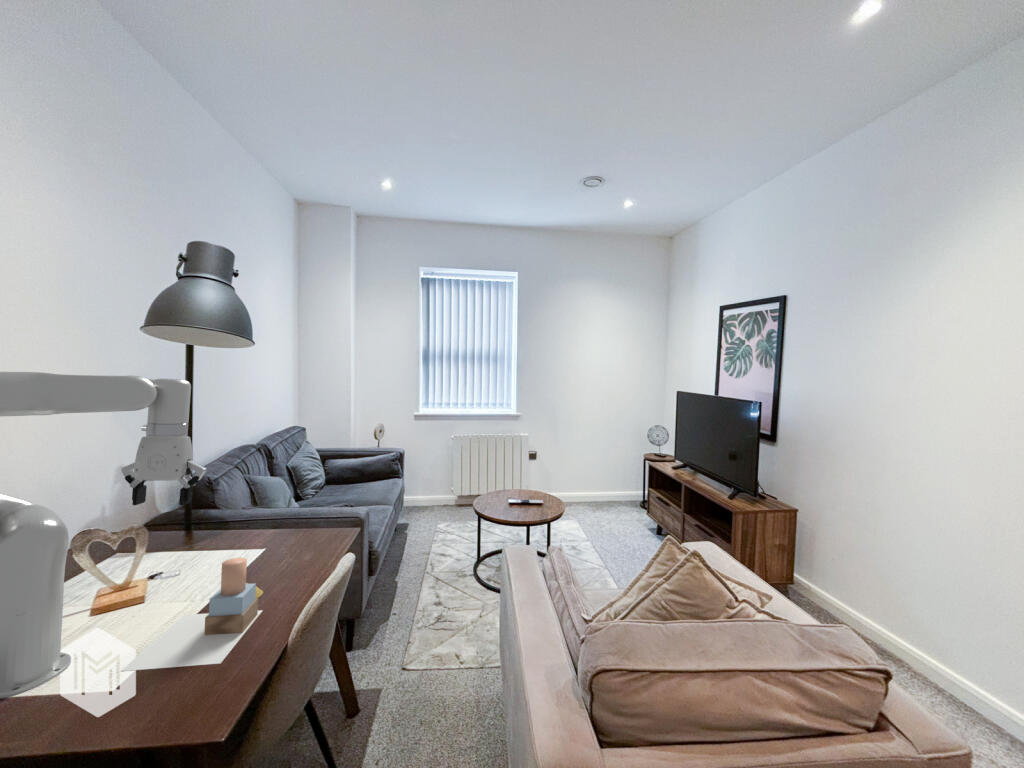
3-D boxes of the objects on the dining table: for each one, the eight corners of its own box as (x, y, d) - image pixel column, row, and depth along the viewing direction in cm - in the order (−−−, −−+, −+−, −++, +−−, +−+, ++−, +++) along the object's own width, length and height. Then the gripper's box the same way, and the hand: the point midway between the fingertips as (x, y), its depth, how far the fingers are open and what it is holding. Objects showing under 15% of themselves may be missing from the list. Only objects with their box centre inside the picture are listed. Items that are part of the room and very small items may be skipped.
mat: (120, 674, 82) (120, 671, 82) (184, 617, 103) (184, 614, 103) (220, 666, 85) (220, 663, 85) (262, 612, 106) (262, 610, 106)
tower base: (204, 635, 94) (205, 617, 95) (222, 616, 102) (223, 600, 102) (242, 632, 96) (243, 615, 96) (257, 614, 104) (258, 598, 104)
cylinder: (216, 596, 96) (217, 566, 97) (227, 586, 101) (228, 558, 101) (239, 595, 97) (241, 565, 97) (249, 585, 102) (250, 557, 102)
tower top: (208, 616, 95) (209, 598, 95) (224, 601, 102) (225, 584, 102) (242, 614, 96) (242, 597, 96) (255, 599, 103) (255, 583, 103)
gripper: (113, 431, 92) (107, 508, 92) (198, 433, 95) (193, 508, 94) (138, 428, 100) (132, 499, 99) (216, 430, 102) (211, 500, 102)
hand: (162, 503), depth 97 cm, fingers open, 9 cm apart
